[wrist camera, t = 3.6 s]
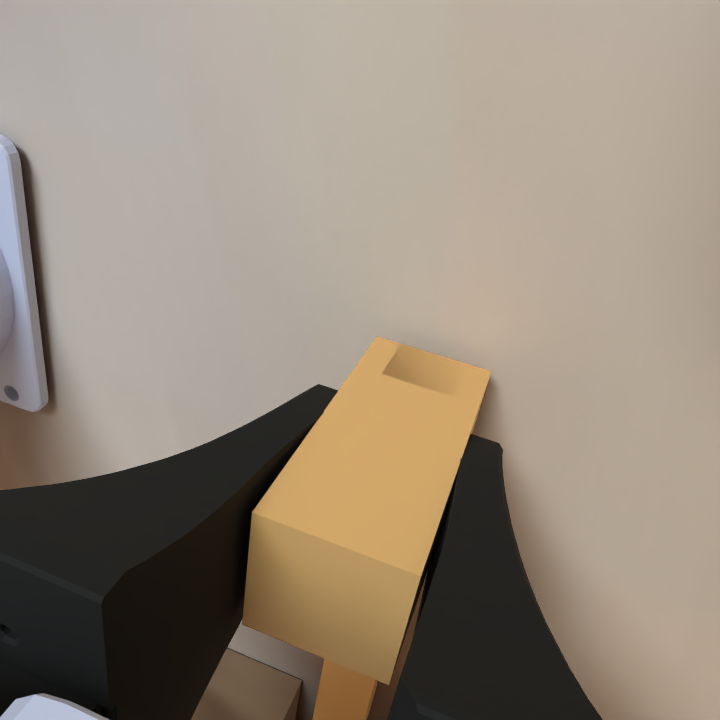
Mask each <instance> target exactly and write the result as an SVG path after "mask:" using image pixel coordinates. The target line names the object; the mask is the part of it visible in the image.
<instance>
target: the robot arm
mask: <svg viewBox="0 0 720 720" xmlns="http://www.w3.org/2000/svg"><path fill="white" fill-rule="evenodd" d="M337 392H338V390H335V389H332V388H329V387H326V386H323V385H320V384H318V385H316V386H314V387H312V388H310V389H309V390H307V391H305V392H303V393H302V394H300V395H298V396H296V397H295V398H293V399H291V400H290V401H288V402H286V403H284V404H283V405H281V406H279V407H277V408H276V409H274V410H272V411H270V412H268V413H267V414H265V415H263V416H261V417H259V418H257V419H255V420H254V421H252V422H250V423H248V424H246V425H244V426H242V427H240V428H238V429H236V430H234V431H232V432H230V433H227V434H225V435H223V436H221V437H219V438H217V439H215V440H213V441H210V442H208V443H206V444H203V445H201V446H198V447H196V448H193V449H191V450H188V451H185V452H182V453H179V454H177V455H174V456H171V457H168V458H165V459H162V460H159V461H155V462H152V463H148V464H144V465H141V466H137V467H134V468H130V469H127V470H123V471H119V472H115V473H111V474H106V475H102V476H97V477H92V478H87V479H82V480H76V481H71V482H65V483H59V484H52V485H44V486H36V487H27V488H19V489H11V490H0V720H191V718H192V716H193V714H194V712H195V710H196V708H197V706H198V704H199V702H200V700H201V698H202V696H203V694H204V692H205V690H206V688H207V686H208V684H209V682H210V680H211V678H212V676H213V674H214V672H215V670H216V668H217V666H218V664H219V662H220V660H221V658H222V656H223V654H224V653H225V651H226V649H227V647H228V645H229V643H230V641H231V639H232V637H233V635H234V633H235V632H236V630H237V628H238V626H239V624H240V622H241V620H242V618H243V609H244V598H245V587H246V575H247V564H248V553H249V541H250V530H251V519H252V512H253V510H254V509H255V507H256V506H257V505H258V503H259V502H260V500H261V499H262V498H263V496H264V495H265V493H266V492H267V491H268V489H269V488H270V486H271V485H272V484H273V482H274V481H275V479H276V478H277V477H278V475H279V474H280V472H281V471H282V469H283V468H284V467H285V465H286V464H287V462H288V461H289V460H290V458H291V457H292V455H293V454H294V453H295V451H296V450H297V448H298V447H299V446H300V444H301V443H302V441H303V440H304V439H305V437H306V436H307V434H308V433H309V431H310V430H311V429H312V427H313V426H314V424H315V423H316V422H317V420H318V419H319V417H320V416H321V415H322V414H323V413H324V410H325V409H326V408H327V406H328V405H329V403H330V402H331V401H332V399H333V398H334V396H335V395H336V393H337ZM0 401H2V402H5V403H8V404H10V405H13V406H16V407H18V408H21V409H24V410H26V411H30V412H37V411H39V410H40V409H42V408H43V407H45V406H46V404H47V403H48V390H47V381H46V373H45V364H44V356H43V347H42V339H41V331H40V322H39V314H38V305H37V297H36V288H35V280H34V271H33V263H32V255H31V246H30V238H29V229H28V221H27V212H26V204H25V196H24V187H23V179H22V170H21V162H20V157H19V153H18V151H17V149H16V148H15V146H14V144H13V143H12V142H11V141H10V140H9V139H8V138H6V137H4V136H2V135H0ZM502 453H503V449H502V447H501V446H500V444H499V443H497V442H494V441H491V440H488V439H484V438H481V437H478V436H475V435H472V434H470V437H469V439H468V442H467V445H466V447H465V450H464V453H463V456H462V459H460V464H459V468H458V471H457V474H456V478H455V481H454V484H453V488H452V491H451V494H450V498H449V501H448V504H447V508H446V511H445V514H444V518H443V521H442V524H441V528H440V531H439V534H438V538H437V541H436V544H435V548H434V551H433V554H432V558H431V561H430V564H429V567H428V572H427V576H426V581H425V585H424V590H423V594H422V599H421V603H420V608H419V613H418V617H417V622H416V626H415V631H414V635H413V640H412V643H411V646H410V649H409V652H408V655H407V658H406V661H405V664H404V667H403V670H402V673H401V676H400V679H399V683H398V686H397V689H396V692H395V696H394V699H393V702H392V705H391V709H390V712H389V715H388V718H387V720H602V718H601V717H600V715H599V714H598V712H597V711H596V710H595V708H594V707H593V705H592V704H591V702H590V701H589V700H588V698H587V696H586V695H585V693H584V691H583V690H582V688H581V686H580V685H579V683H578V681H577V680H576V678H575V676H574V675H573V673H572V671H571V670H570V668H569V666H568V664H567V662H566V660H565V658H564V656H563V654H562V653H561V651H560V649H559V647H558V645H557V643H556V641H555V639H554V637H553V635H552V633H551V631H550V629H549V627H548V625H547V623H546V621H545V619H544V617H543V614H542V612H541V610H540V607H539V605H538V603H537V601H536V598H535V596H534V593H533V591H532V588H531V585H530V583H529V580H528V578H527V575H526V572H525V569H524V566H523V563H522V560H521V557H520V553H519V550H518V546H517V543H516V540H515V536H514V532H513V528H512V524H511V519H510V514H509V510H508V505H507V500H506V494H505V487H504V479H503V468H502Z"/></svg>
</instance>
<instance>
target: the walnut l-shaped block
mask: <svg viewBox="0 0 720 720" xmlns="http://www.w3.org/2000/svg"><path fill="white" fill-rule="evenodd" d="M301 683H302V680H299V679H297V678H295V677H292V676H290V675H288V674H285V673H283V672H281V671H278V670H276V669H274V668H271V667H269V666H267V665H264V664H262V663H260V662H258V661H255V660H253V659H251V658H248V657H246V656H244V655H241V654H239V653H237V652H234V651H232V650H230V649H226V651H225V653H224V654H223V656H222V658H221V660H220V662H219V664H218V666H217V668H216V670H215V672H214V674H213V676H212V678H211V680H210V682H209V684H208V686H207V688H206V690H205V692H204V694H203V696H202V698H201V700H200V702H199V704H198V706H197V708H196V710H195V712H194V714H193V716H192V718H191V720H295V717H296V711H297V705H298V700H299V694H300V689H301Z"/></svg>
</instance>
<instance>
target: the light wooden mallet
mask: <svg viewBox="0 0 720 720" xmlns="http://www.w3.org/2000/svg"><path fill="white" fill-rule="evenodd" d="M490 375H491V371H488V370H485V369H482V368H479V367H475V366H472V365H469V364H465V363H462V362H459V361H456V360H452V359H449V358H446V357H443V356H439V355H436V354H433V353H429V352H426V351H423V350H420V349H416V348H413V347H410V346H406V345H403V344H400V343H397V342H393V341H390V340H387V339H384V338H380V337H376V339H375V340H374V341H373V343H372V344H371V346H370V347H369V348H368V350H367V351H366V353H365V354H364V355H363V357H362V358H361V360H360V361H359V362H358V364H357V365H356V367H355V368H354V370H353V371H352V372H351V374H350V375H349V377H348V378H347V379H346V381H345V382H344V384H343V385H342V386H341V388H340V389H339V391H338V392H337V393H336V395H335V396H334V398H333V399H332V401H331V402H330V403H329V405H328V406H327V408H326V409H325V410H324V413H323V414H322V415H321V416H320V417H319V419H318V420H317V422H316V423H315V424H314V426H313V427H312V429H311V430H310V431H309V433H308V434H307V436H306V437H305V439H304V440H303V441H302V443H301V444H300V446H299V447H298V448H297V450H296V451H295V453H294V454H293V455H292V457H291V458H290V460H289V461H288V462H287V464H286V465H285V467H284V468H283V469H282V471H281V472H280V474H279V475H278V477H277V478H276V479H275V481H274V482H273V484H272V485H271V486H270V488H269V489H268V491H267V492H266V493H265V495H264V496H263V498H262V499H261V500H260V502H259V503H258V505H257V506H256V507H255V509H254V510H253V512H252V519H251V530H250V541H249V553H248V564H247V575H246V587H245V598H244V609H243V620H242V624H243V625H246V626H248V627H250V628H253V629H255V630H257V631H260V632H262V633H265V634H267V635H269V636H272V637H274V638H277V639H279V640H281V641H284V642H286V643H289V644H291V645H293V646H296V647H298V648H300V649H303V650H305V651H308V652H310V653H312V654H315V655H317V656H320V657H322V658H324V663H323V668H322V673H321V678H320V683H319V688H318V693H317V698H316V703H315V708H314V713H313V718H312V720H367V717H368V715H369V712H370V708H371V705H372V701H373V697H374V694H375V690H376V687H377V683H378V681H379V682H382V683H384V684H386V685H389V684H390V681H391V678H392V675H393V672H394V669H395V666H396V663H397V660H398V657H399V654H400V651H401V648H402V645H403V642H404V639H405V636H406V633H407V630H408V627H409V624H410V621H411V618H412V615H413V612H414V609H415V606H416V603H417V600H418V597H419V594H420V591H421V588H422V585H423V582H424V579H425V576H426V573H427V570H428V567H429V564H430V561H431V558H432V554H433V551H434V548H435V544H436V541H437V538H438V534H439V531H440V528H441V524H442V521H443V518H444V514H445V511H446V508H447V504H448V501H449V498H450V494H451V491H452V488H453V484H454V481H455V478H456V474H457V471H458V468H459V464H460V459H462V456H463V453H464V450H465V447H466V445H467V442H468V439H469V437H470V434H473V430H474V427H475V424H476V421H477V417H478V414H479V411H480V407H481V404H482V401H483V398H484V394H485V391H486V388H487V384H488V381H489V378H490Z"/></svg>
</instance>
